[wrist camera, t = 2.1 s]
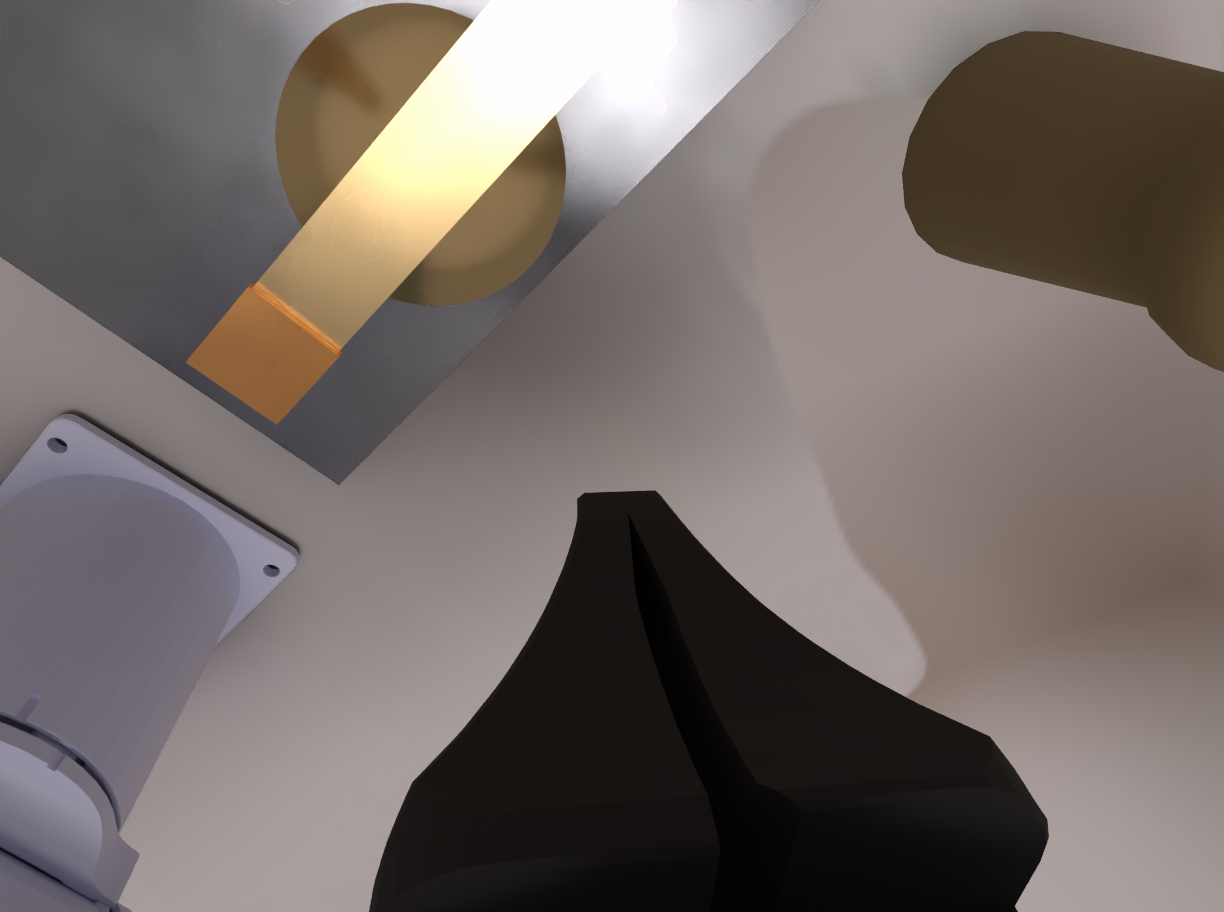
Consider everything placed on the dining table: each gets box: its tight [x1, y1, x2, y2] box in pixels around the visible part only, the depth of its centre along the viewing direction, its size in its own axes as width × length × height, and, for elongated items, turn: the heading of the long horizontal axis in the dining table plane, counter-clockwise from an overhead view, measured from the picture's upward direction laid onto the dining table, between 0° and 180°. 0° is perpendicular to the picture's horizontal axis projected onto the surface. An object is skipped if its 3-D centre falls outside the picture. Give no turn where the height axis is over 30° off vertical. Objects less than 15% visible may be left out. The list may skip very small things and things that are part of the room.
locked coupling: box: [186, 0, 649, 425], centre depth 14 cm, size 6×10×5 cm, turn 133°
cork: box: [902, 31, 1224, 372], centre depth 15 cm, size 6×6×11 cm
